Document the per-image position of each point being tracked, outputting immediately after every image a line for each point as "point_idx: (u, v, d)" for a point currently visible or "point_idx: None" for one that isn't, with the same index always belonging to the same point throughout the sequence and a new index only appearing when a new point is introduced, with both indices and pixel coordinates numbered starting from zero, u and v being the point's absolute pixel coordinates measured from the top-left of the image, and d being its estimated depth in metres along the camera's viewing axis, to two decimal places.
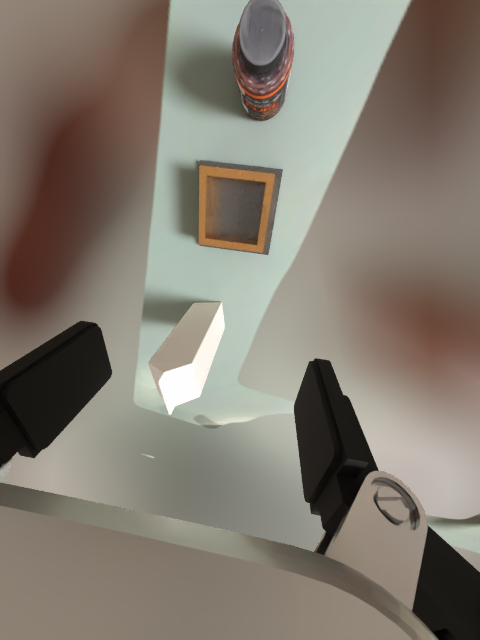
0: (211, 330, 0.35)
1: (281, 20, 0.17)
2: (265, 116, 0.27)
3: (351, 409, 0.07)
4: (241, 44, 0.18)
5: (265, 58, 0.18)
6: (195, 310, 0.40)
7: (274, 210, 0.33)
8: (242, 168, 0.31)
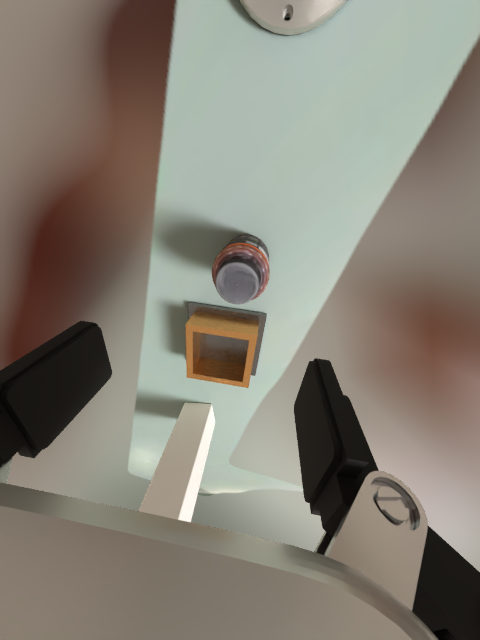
0: (199, 453, 0.36)
1: (254, 280, 0.19)
2: None
3: (351, 409, 0.07)
4: (218, 290, 0.19)
5: (240, 301, 0.20)
6: (185, 419, 0.41)
7: (259, 344, 0.34)
8: (228, 312, 0.32)
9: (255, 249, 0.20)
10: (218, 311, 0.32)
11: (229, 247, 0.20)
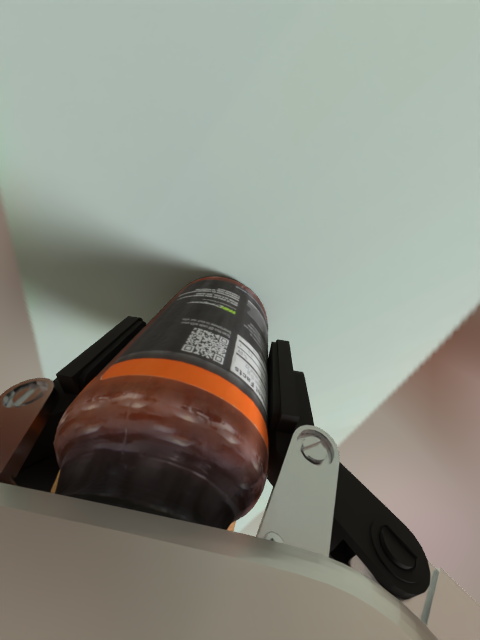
0: None
1: None
2: None
3: (303, 382, 0.08)
4: None
5: None
6: None
7: None
8: None
9: (209, 401, 0.05)
10: None
11: (98, 393, 0.05)
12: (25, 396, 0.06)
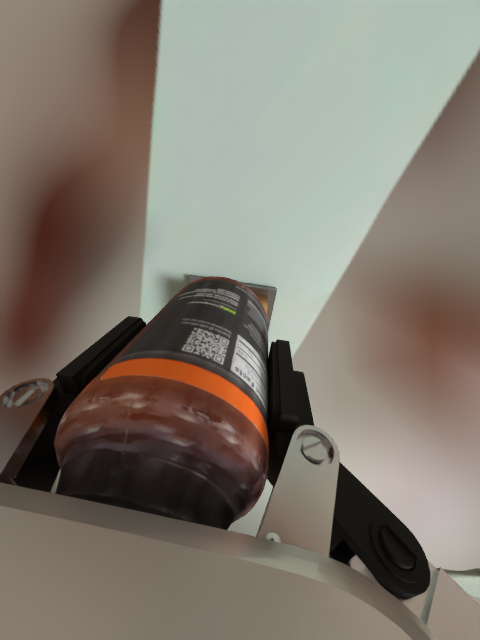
0: None
1: None
2: None
3: (303, 382, 0.08)
4: None
5: None
6: None
7: (268, 323, 0.31)
8: None
9: (209, 401, 0.05)
10: None
11: (99, 393, 0.05)
12: (25, 396, 0.06)
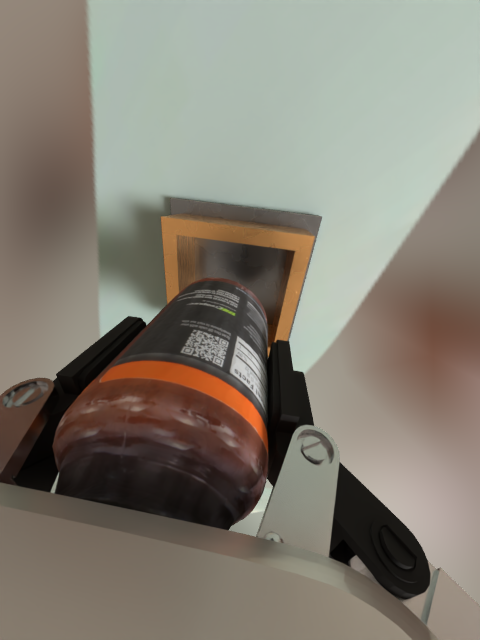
0: None
1: None
2: None
3: (303, 382, 0.08)
4: None
5: None
6: None
7: None
8: (246, 213, 0.17)
9: (208, 404, 0.05)
10: (228, 210, 0.17)
11: (97, 396, 0.05)
12: (25, 396, 0.06)
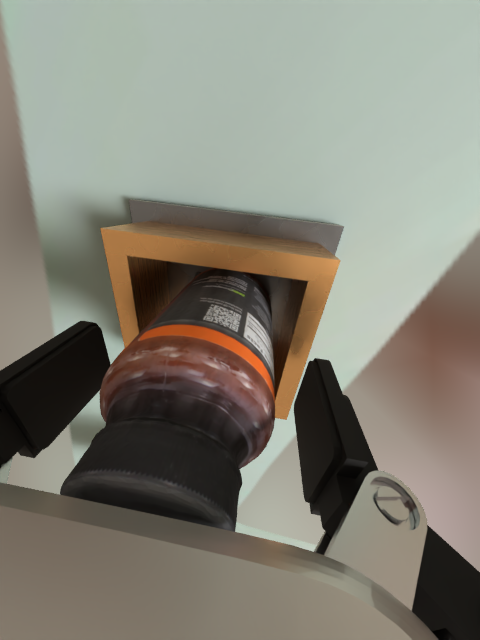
0: None
1: None
2: None
3: (351, 409, 0.07)
4: None
5: None
6: None
7: None
8: (236, 220, 0.12)
9: (229, 355, 0.06)
10: (210, 217, 0.12)
11: (140, 348, 0.06)
12: None
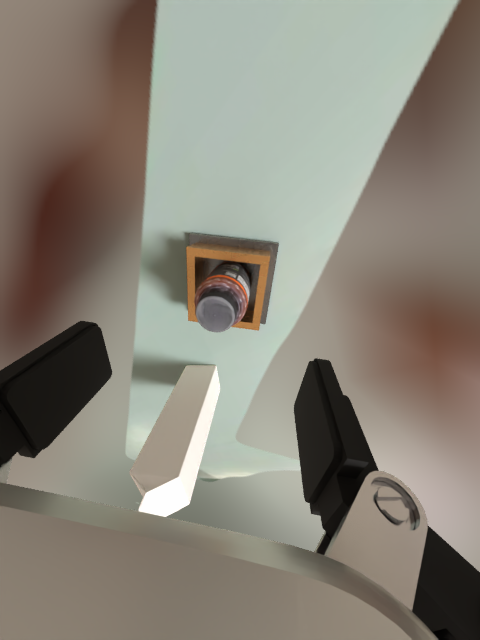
0: (203, 411, 0.31)
1: (230, 311, 0.20)
2: None
3: (351, 409, 0.07)
4: (198, 320, 0.21)
5: (219, 330, 0.21)
6: (187, 379, 0.37)
7: (270, 282, 0.30)
8: (234, 242, 0.28)
9: (233, 281, 0.22)
10: (223, 240, 0.28)
11: (209, 280, 0.22)
12: None
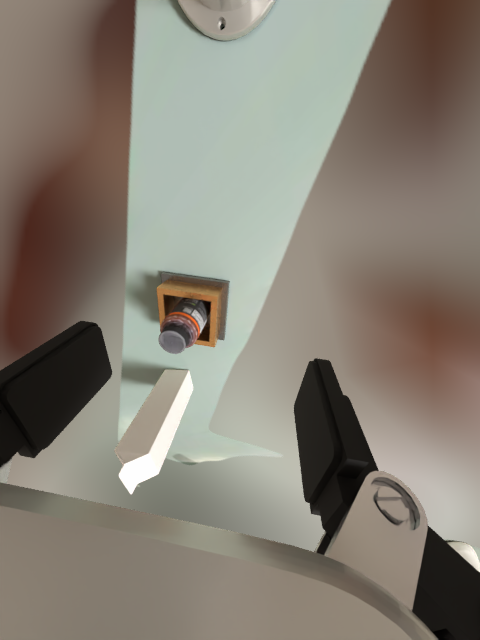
0: (173, 407, 0.41)
1: (182, 340, 0.29)
2: None
3: (351, 409, 0.07)
4: (161, 345, 0.30)
5: (175, 352, 0.30)
6: (164, 381, 0.46)
7: (225, 310, 0.39)
8: (195, 280, 0.37)
9: (186, 317, 0.31)
10: (187, 279, 0.37)
11: (169, 316, 0.31)
12: None
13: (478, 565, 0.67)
